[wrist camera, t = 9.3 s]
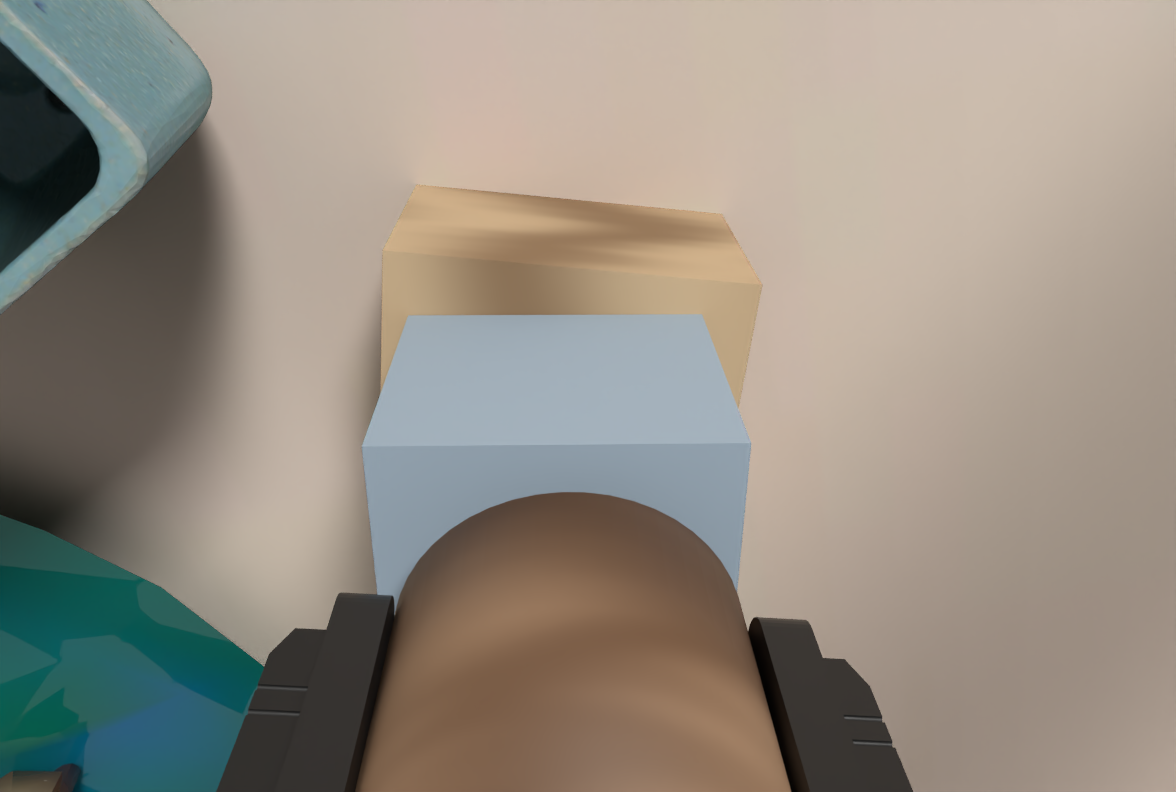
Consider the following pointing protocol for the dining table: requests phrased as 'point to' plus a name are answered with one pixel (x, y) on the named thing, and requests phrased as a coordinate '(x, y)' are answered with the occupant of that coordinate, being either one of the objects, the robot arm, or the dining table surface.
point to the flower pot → (84, 122)
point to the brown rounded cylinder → (570, 660)
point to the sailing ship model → (108, 677)
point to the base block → (566, 265)
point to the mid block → (551, 426)
